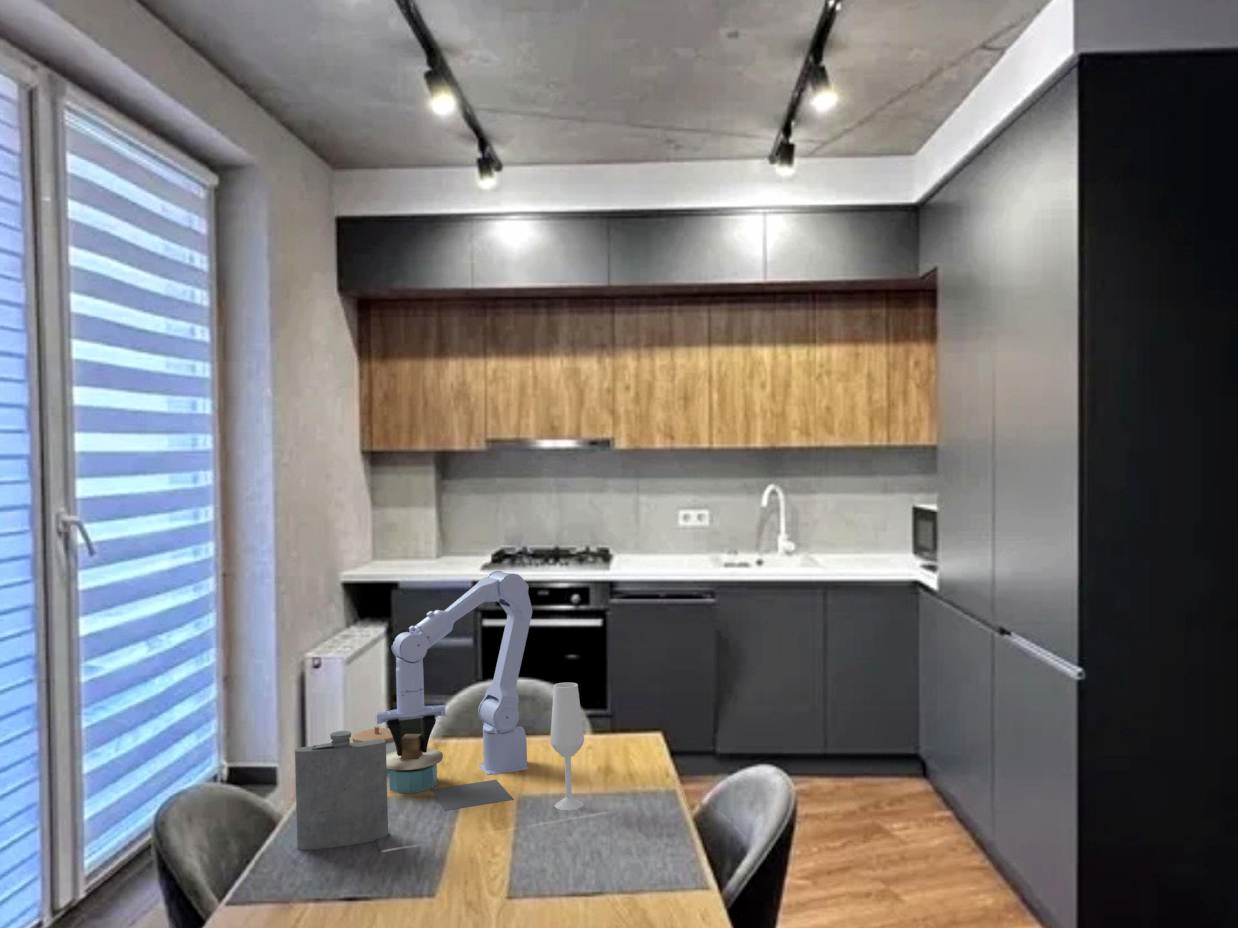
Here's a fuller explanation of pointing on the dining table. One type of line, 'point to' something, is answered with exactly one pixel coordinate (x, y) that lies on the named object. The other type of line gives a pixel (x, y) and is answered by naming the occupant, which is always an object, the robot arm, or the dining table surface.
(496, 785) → the mat
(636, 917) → the dining table surface
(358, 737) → the lidded jar
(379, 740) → the hip flask
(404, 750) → the lid
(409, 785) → the bowl
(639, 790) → the dining table surface
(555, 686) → the champagne flute
